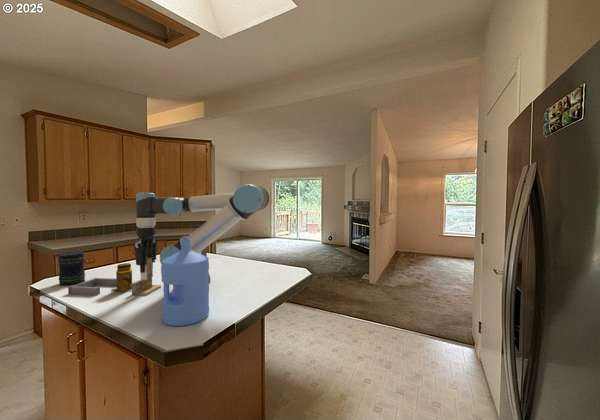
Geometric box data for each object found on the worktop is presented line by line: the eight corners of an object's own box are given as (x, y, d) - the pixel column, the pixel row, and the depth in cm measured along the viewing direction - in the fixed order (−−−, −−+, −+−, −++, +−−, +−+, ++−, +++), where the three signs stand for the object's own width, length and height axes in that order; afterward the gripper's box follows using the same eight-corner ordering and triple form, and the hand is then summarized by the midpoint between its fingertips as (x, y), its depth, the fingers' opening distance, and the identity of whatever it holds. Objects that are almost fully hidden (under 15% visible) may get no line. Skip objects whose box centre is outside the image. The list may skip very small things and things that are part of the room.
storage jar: (54, 284, 126) (53, 254, 126) (77, 279, 135) (77, 250, 135) (66, 287, 123) (65, 256, 122) (89, 281, 132) (89, 252, 131)
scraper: (160, 287, 123) (160, 256, 123) (146, 295, 113) (146, 261, 113) (146, 287, 124) (146, 255, 123) (131, 294, 114) (131, 260, 113)
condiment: (133, 291, 119) (132, 265, 118) (110, 294, 114) (109, 267, 114) (133, 286, 125) (132, 261, 124) (111, 289, 120) (110, 264, 120)
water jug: (200, 304, 104) (199, 235, 103) (216, 318, 92) (215, 239, 91) (156, 315, 94) (155, 238, 93) (168, 332, 82) (167, 244, 81)
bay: (121, 284, 127) (121, 278, 127) (97, 295, 113) (96, 288, 113) (95, 283, 128) (95, 277, 128) (68, 294, 114) (68, 287, 114)
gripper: (149, 224, 126) (150, 272, 127) (124, 228, 110) (125, 283, 111) (164, 225, 125) (165, 273, 126) (141, 228, 109) (142, 284, 110)
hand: (146, 277), depth 118 cm, fingers closed on scraper, 3 cm apart
